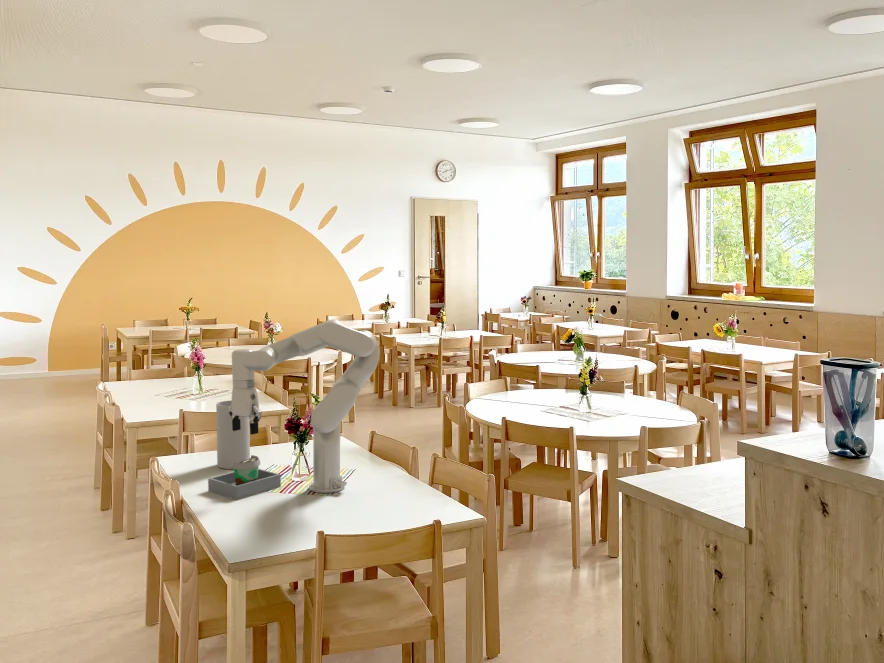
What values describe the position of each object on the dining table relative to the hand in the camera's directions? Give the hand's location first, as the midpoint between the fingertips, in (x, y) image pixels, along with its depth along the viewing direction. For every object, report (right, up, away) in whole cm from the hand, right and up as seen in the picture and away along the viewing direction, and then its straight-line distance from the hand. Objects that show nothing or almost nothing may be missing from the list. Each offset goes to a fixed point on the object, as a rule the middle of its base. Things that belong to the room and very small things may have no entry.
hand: (245, 432), depth 280 cm
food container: (+2, -20, +1) cm, 20 cm away
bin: (-1, -21, +2) cm, 21 cm away
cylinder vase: (-13, -18, +32) cm, 39 cm away
